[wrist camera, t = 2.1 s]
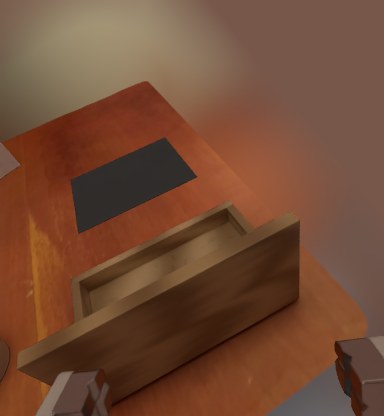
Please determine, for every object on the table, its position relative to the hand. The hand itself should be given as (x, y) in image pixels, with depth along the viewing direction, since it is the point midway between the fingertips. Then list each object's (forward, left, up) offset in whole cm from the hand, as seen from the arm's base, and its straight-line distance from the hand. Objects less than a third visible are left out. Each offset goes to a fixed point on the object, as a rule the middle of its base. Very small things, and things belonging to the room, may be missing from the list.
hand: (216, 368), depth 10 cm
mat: (+1, -44, -19) cm, 48 cm away
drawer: (+1, -15, -19) cm, 24 cm away
